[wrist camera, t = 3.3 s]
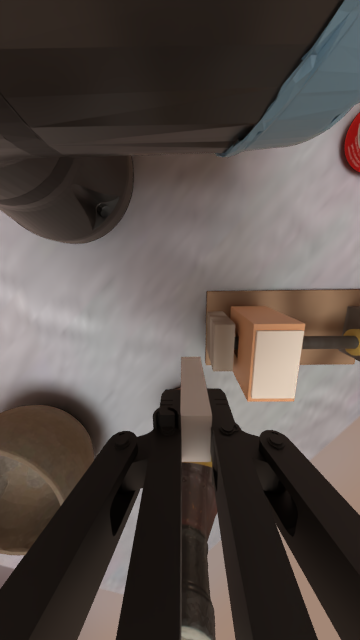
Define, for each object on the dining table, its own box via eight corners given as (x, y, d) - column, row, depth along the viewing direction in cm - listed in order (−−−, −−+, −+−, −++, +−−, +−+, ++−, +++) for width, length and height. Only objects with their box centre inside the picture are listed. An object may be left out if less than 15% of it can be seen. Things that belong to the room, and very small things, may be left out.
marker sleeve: (230, 306, 23) (255, 325, 15) (265, 306, 23) (307, 324, 15) (228, 361, 25) (248, 403, 17) (260, 361, 25) (295, 403, 17)
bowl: (-12, 458, 33) (-93, 537, 23) (9, 369, 29) (-80, 420, 19) (88, 490, 34) (51, 578, 25) (122, 410, 30) (93, 477, 20)
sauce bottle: (206, 383, 29) (255, 616, 9) (206, 419, 30) (247, 683, 11) (161, 383, 29) (119, 614, 10) (163, 420, 30) (129, 681, 11)
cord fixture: (205, 362, 28) (217, 410, 18) (206, 291, 25) (221, 304, 16) (349, 361, 28) (437, 410, 18) (364, 289, 25) (476, 301, 16)
